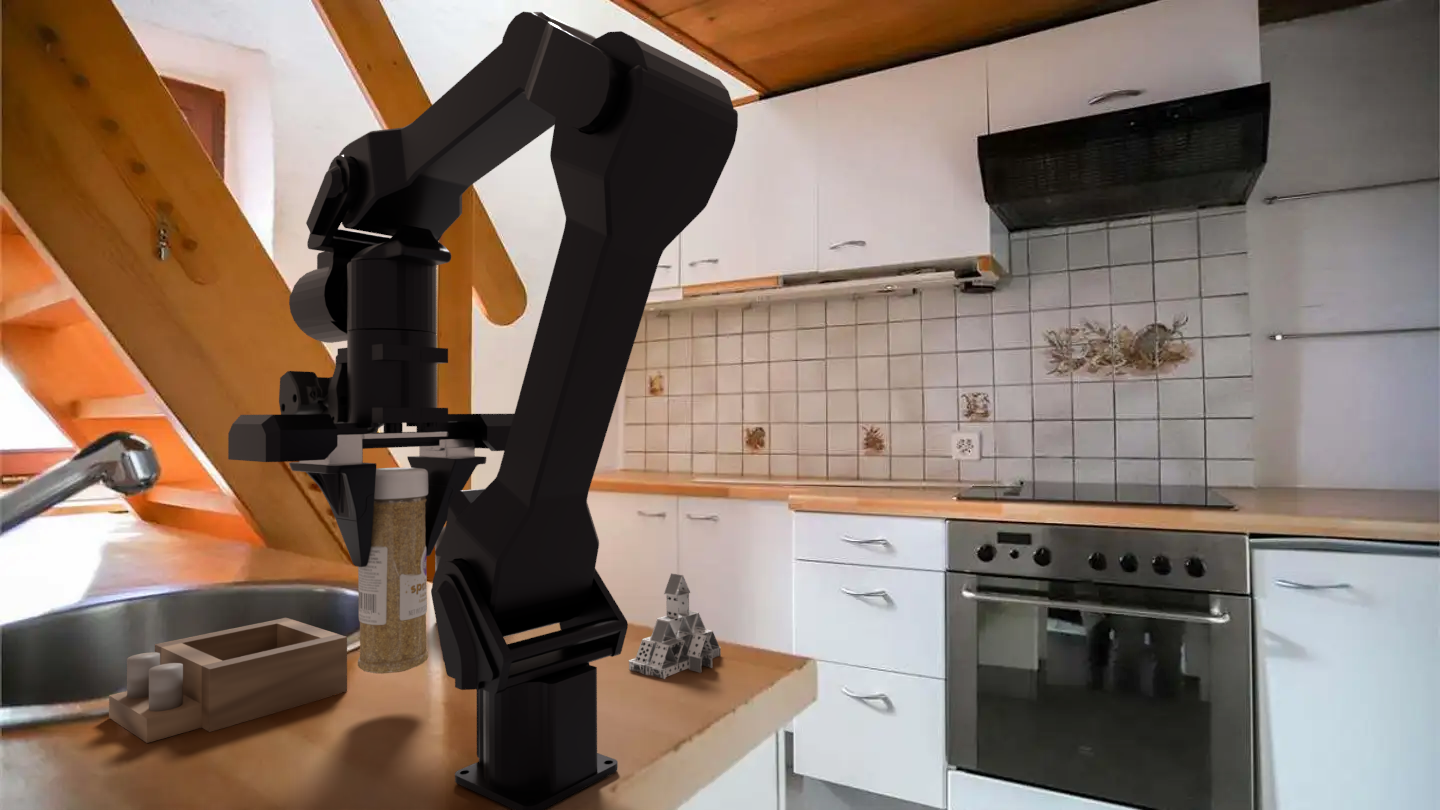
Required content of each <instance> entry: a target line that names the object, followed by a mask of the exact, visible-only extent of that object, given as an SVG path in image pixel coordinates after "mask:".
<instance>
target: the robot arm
mask: <svg viewBox="0 0 1440 810" xmlns="http://www.w3.org/2000/svg"><path fill="white" fill-rule="evenodd" d="M738 118H739V113H738V110H737V109H735V108H734V104H733V102H732V99H731V96H730V91H729V90H728V89H727V88H726V86H725V85H724V84H723V83H722V81H721V80H720V79H719V78H716V77H715V76H712V75H711V74H709V73H707V72H705V71H703V70H701V69H699V68H696V66H693V65H691V64H689V63H687V62H685V61H682V60H680V59H679V58H676V57H674V56H673V55H671V54H668V53H666V52H664V51H663V50H660V49H658V48H656V47H654V46H652V45H650V44H648V43H646V42H644V41H642V40H641V39H638V38H636V37H634V36H632V35H630V34H628V33H626V32H624V31H621V30H620V31H608V32H605V33H604V34H602V35H600V36H599V37H597V38H596V37H595V36H594V35H592V34H590V33H587V32H586V31H583V30H581V29H580V28H577V27H574V26H572V25H571V24H568V23H566V22H564V21H562V20H560V19H558V18H556V17H554V16H551V15H550V14H547V13H546V12H543V11H533V12H530V11H521V12H520V13H518V14H516V15H515V16H514V17H513V18H512V20H511V21H510V23H508V25H507V27H506V29H505V31H504V34H503V37H502V41H501V43H500V44H498V46H496V47H495V48H494V49H493V50H492V51H491V52H490V53H488V54H487V55H486V56H485V57H484V58H483V59H482V60H481V61H480V62H478V63H477V65H475V66H474V67H473V68H472V69H471V70H470V71H468V73H466V74H465V75H464V76H463V77H462V78H461V79H459V80H458V81H457V82H455V84H454V85H453V86H452V87H450V89H448V90H447V91H446V92H445V93H444V94H443V95H442V96H440V97H439V98H438V99H437V100H436V101H435V102H434V103H432V104H431V105H430V106H429V107H428V108H427V109H426V110H425V111H423V112H422V114H420V115H419V116H418V117H417V118H416V119H415V120H414V121H413V122H411V123H409V124H407V125H406V126H403V127H396V128H395V127H394V128H389V129H388V128H387V129H376V130H371V131H369V132H367V133H365V134H363V135H361V136H359V137H357V138H356V139H355V140H353V141H350V142H349V143H348V144H347V145H345V146H344V147H343V148H342V150H341V151H340V152H339V153H338V155H336V156H335V157H334V158H333V159H332V161H331V162H330V164H329V167H328V169H327V171H326V172H325V174H324V177H323V179H322V182H321V184H320V186H319V189H318V192H317V194H316V197H315V200H314V202H313V205H312V207H311V210H310V212H309V215H308V217H307V220H306V222H305V224H306V226H307V228H308V230H309V235H308V238H307V248H308V249H309V250H313V251H320V252H317V253H318V254H317V255H316V264H317V265H316V269H313V270H310V271H308V272H306V273H305V274H303V275H301V277H300V278H299V279H298V280H297V282H295V284H294V285H293V287H292V290H291V293H290V294H289V301H288V303H289V311H290V314H291V317H292V320H293V321H294V323H295V324H296V325H297V327H298V329H299V330H301V331H302V332H303V333H304V334H306V335H307V337H310V338H312V339H313V340H315V341H319V342H322V343H327V344H328V343H329V344H330V343H331V344H333V343H340V342H347V344H346V345H347V346H346V347H342V348H341V347H340V348H337V355H336V356H335V368H334V371H333V374H332V376H330V377H323V376H322V377H320V376H318V375H317V374H316V372H314V371H302V370H301V371H297V370H296V371H295V370H288V371H286V372H285V373H284V374H283V375H282V376H280V377H279V390H278V404H279V405H278V406H279V411H280V414H240V415H239V416H238V417H237V419H235V421H233V422H232V424H231V426H230V428H229V432H228V436H227V440H228V442H227V444H228V445H227V447H228V448H227V450H228V451H227V452H228V453H227V455H228V457H227V460H228V461H229V460H230V461H231V460H232V461H245V462H246V461H247V462H257V463H258V462H259V463H260V462H261V463H284V462H287V463H289V467H290V469H291V471H292V472H302V473H303V472H304V473H306V474H307V475H308V477H310V479H311V480H312V481H313V482H314V483H315V484H316V485H317V486H318V487H319V489H320V491H321V492H322V494H323V496H324V498H325V500H326V501H327V503H328V506H329V507H330V509H331V511H332V513H333V514H332V515H333V516H334V519H335V521H336V524H337V527H338V529H339V531H340V534H341V537H342V539H343V542H344V544H345V547H346V549H347V551H348V554H349V557H350V560H351V562H352V564H353V566H355V567H357V568H358V567H365V566H367V564H368V559H369V554H370V549H371V541H372V525H373V510H374V495H375V481H376V469H377V463H374V462H363V461H364V459H363V458H364V456H363V454H364V451H363V450H365V449H367V450H368V449H391V448H392V449H393V448H415V447H416V448H417V447H419V455H413V456H412V455H411V456H410V455H409V456H407V461H408V463H409V465H410V468H421V469H425V470H427V472H428V495H426V496H425V498H426V502H425V530H426V531H425V545H426V557H430V556H431V555H432V552H433V550H434V551H435V549H434V548H435V544H436V542H437V540H438V538H439V536H440V534H441V532H442V529H443V527H445V526H446V527H445V532H444V535H443V538H442V540H441V543H440V544H439V546H438V547H437V549H436V551H435V552H434V553H435V554H436V556H441V558H440V560H439V564H438V567H437V570H435V572H434V575H433V579H432V583H431V584H432V585H431V590H430V591H431V592H430V594H431V598H432V599H431V601H432V604H433V605H432V606H433V611H434V616H435V621H436V626H437V633H438V637H439V645H440V648H441V649H440V650H441V655H442V661H443V663H444V667H445V673H446V675H447V676H448V677H450V678H452V679H454V688H456V689H459V690H462V691H464V690H465V691H466V690H467V691H470V690H476V756H477V758H478V761H477V762H474V763H473V764H470V765H467V766H465V767H463V768H461V769H458V770H457V771H455V773H454V783H456V784H457V785H460V786H461V787H464V788H466V789H468V790H470V791H473V792H475V793H477V794H479V795H481V796H484V797H486V798H488V799H490V800H492V801H495V802H497V803H499V804H501V805H503V806H505V807H508V808H510V809H512V810H545V809H547V808H549V807H550V806H552V805H554V804H556V803H559V802H560V801H562V800H565V799H566V798H567V797H570V796H572V795H574V794H575V793H577V792H580V791H581V790H584V789H585V788H587V787H589V786H591V785H593V784H595V783H597V782H599V781H601V780H602V779H604V778H606V777H608V776H610V775H612V774H614V773H616V772H617V771H618V767H619V764H618V760H617V759H615V758H612V757H610V756H608V755H605V754H601V753H599V752H598V681H597V680H598V675H597V674H598V670H597V669H598V668H597V666H596V665H595V666H594V665H591V664H590V663H592V662H596V661H598V660H602V659H604V658H608V657H611V658H612V657H617V656H619V655H621V654H622V651H623V647H624V643H625V639H626V635H627V632H628V627H629V625H628V620H627V618H626V617H625V615H624V614H623V612H622V611H621V609H620V607H619V605H618V604H617V602H616V600H615V598H614V597H613V596H612V593H611V592H610V590H609V589H608V586H606V583H605V582H604V580H603V579H602V577H601V576H600V574H599V572H598V570H597V569H596V566H597V565H596V564H597V559H598V552H599V548H600V539H599V536H598V533H597V529H596V526H595V523H594V520H593V518H592V514H591V511H590V507H589V504H588V496H589V492H590V491H589V490H590V488H591V484H592V482H593V478H594V476H595V472H596V469H597V468H596V467H597V465H598V461H599V458H600V455H601V451H602V449H603V445H604V442H605V439H606V436H607V433H608V432H607V431H608V428H609V426H610V423H611V420H612V416H613V414H614V413H613V412H614V409H615V406H616V403H617V400H618V397H619V393H620V390H621V387H622V384H623V380H624V376H625V373H626V371H627V368H628V367H627V366H628V364H629V361H630V357H631V353H632V351H633V347H634V344H635V341H636V337H637V334H638V330H639V328H640V324H641V321H642V318H643V316H644V315H643V314H644V311H645V309H646V305H647V301H648V298H649V294H650V291H651V289H652V285H653V282H654V278H655V275H656V273H657V270H658V269H657V268H658V265H659V263H660V260H661V258H662V255H663V253H664V251H665V250H666V248H667V247H668V246H669V245H670V244H671V243H672V242H673V241H674V240H675V239H676V238H677V237H678V236H679V235H680V234H681V233H682V232H684V230H685V229H686V228H687V227H688V226H689V225H690V224H691V223H692V222H693V221H694V220H695V219H696V218H697V217H698V216H699V215H700V214H701V213H702V212H703V211H704V209H706V207H707V205H708V204H709V201H710V199H711V197H712V195H713V193H714V191H715V188H716V187H717V184H718V182H719V180H720V178H721V175H722V173H723V171H724V169H725V167H726V165H727V162H728V160H729V158H730V156H731V153H732V150H733V149H734V146H735V142H736V138H737V132H738V127H739V122H738V121H739V119H738ZM551 128H553V133H552V140H551V146H550V152H549V155H550V162H551V167H552V169H553V174H554V177H555V181H556V184H557V189H558V193H559V197H560V200H561V204H562V207H563V211H564V215H565V223H564V228H563V232H562V237H561V240H560V244H559V247H558V252H557V255H556V259H555V262H554V266H553V270H552V274H551V277H550V281H549V285H548V288H547V292H546V296H545V300H544V304H543V307H542V310H541V314H540V317H539V318H540V319H539V320H538V325H537V328H536V332H535V336H534V340H533V343H532V347H531V351H530V354H529V358H528V361H527V366H526V369H525V374H524V376H523V381H522V384H521V389H520V393H519V396H518V398H517V403H516V407H515V409H514V413H449V408H448V407H438V365H439V364H449V348H447V347H446V348H445V347H438V296H437V295H438V289H437V288H438V282H437V281H438V274H437V272H438V269H437V267H438V266H440V265H443V264H448V263H450V262H451V260H452V253H451V251H449V249H447V247H446V246H445V245H443V244H442V243H441V242H440V240H441V237H442V236H443V235H444V233H445V232H446V231H447V230H448V229H449V228H450V227H451V226H452V225H453V224H454V223H455V222H456V221H457V220H458V219H459V217H460V216H461V215H462V214H463V194H464V193H465V192H466V191H467V190H468V188H469V187H471V186H472V185H474V184H475V183H476V182H478V181H479V180H480V179H482V178H483V177H485V176H486V175H487V174H488V173H490V172H491V171H493V170H494V169H495V168H497V167H498V166H500V165H501V164H503V163H504V162H506V160H508V159H509V158H511V157H512V156H514V155H515V154H517V153H518V152H519V151H521V150H522V149H523V148H525V147H526V146H528V145H529V144H530V143H532V142H533V141H534V140H537V138H538V137H540V136H541V135H543V134H544V133H546V132H547V131H548V130H550V129H551ZM341 225H342V226H343V227H344V229H341V228H340V226H341ZM347 229H349V230H347ZM352 230H355V231H352ZM359 231H360V232H359ZM364 232H366V233H364ZM370 233H371V234H370ZM372 233H373V234H372ZM377 234H378V235H377ZM382 235H383V236H382ZM389 236H390V237H389ZM308 249H307V250H308ZM403 424H406V427H416V431H403ZM381 427H383V432H380V431H379V429H380V428H381ZM475 449H488V450H490V451H491V452H503V455H502V458H501V462H500V466H499V470H498V472H497V475H496V476H495V478H494V479H493V480H492V481H491V482H490V483H489V484H488V485H487V486H486V487H485V488H475V489H464V488H465V486H466V485H467V483H468V481H469V480H470V479H471V476H472V475H473V473H474V471H475V470H476V468H477V467H478V466H479V465H486V463H487V456H477V455H476V453H475V451H476V450H475ZM463 489H464V490H463ZM556 624H559V628H560V630H556V631H553V632H552V631H551V632H548V633H545V634H540V635H536V636H533V637H528V638H525V639H522V640H518V641H514V642H511V643H507V642H506V640H505V637H510V636H513V635H518V634H522V633H526V632H530V631H533V630H538V629H540V628H545V627H549V626H552V625H556Z"/></svg>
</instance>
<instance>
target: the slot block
mask: <svg viewBox="0 0 1440 810" xmlns="http://www.w3.org/2000/svg"><path fill="white" fill-rule="evenodd" d="M346 691H347V692H348V636H345V635H342V634H339V633H336V632H333V631H330V630H326V629H323V628H320V627H317V626H314V625H310V624H308V623H305V622H301V621H298V620H295V619H292V618H288V617H282V618H278V619H273V620H269V621H264V622H258V623H253V624H249V625H248V624H247V625H243V626H239V627H235V628H234V627H233V628H229V629H223V630H218V631H214V632H209V633H204V634H199V635H194V636H190V637H184V638H180V639H174V640H169V641H165V642H158V643H156V644H154V651H153V652H144V653H138V654H133V655H131V656H129V657H127V658H126V691H121V692H118V693H113V694H109V696H108V719H110V720H111V721H114V722H115V723H116V724H117V725H119V726H121V728H124V729H126V730H127V731H128V732H129V733H131V734H132V735H134V736H136V737H137V738H138V739H140V740H141V741H143V742H144V743H146V744H148V743H152V742H156V741H159V740H163V739H166V738H170V737H174V736H177V735H179V734H180V735H181V734H183V733H188V732H190V731H195V730H198V729H204V731H207V732H208V733H211V732H214V731H215V732H216V731H218V730H221V729H225V728H228V727H231V726H235V725H238V724H242V723H245V722H248V721H251V720H255V719H258V718H262V717H266V716H269V715H272V714H277V713H280V712H283V711H286V710H290V709H294V708H298V707H299V706H300V707H301V706H303V705H306V704H310V703H313V702H316V701H319V700H322V699H326V698H330V697H333V696H332V695H334V696H336V695H335V694H337V695H340V694H343V693H342V692H344V693H346ZM339 693H340V694H339Z"/></svg>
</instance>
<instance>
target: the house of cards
mask: <svg viewBox="0 0 1440 810" xmlns="http://www.w3.org/2000/svg"><path fill="white" fill-rule="evenodd" d="M691 593H692V592H691V590H690V588H689V586H688V583H687V581H686V579H685V576H684V575H683V574H678V573H677V574H676V573H670V576H669V579H668V581H667V584H666V587H665V590H664V592H663V595H665V597H666V609H665V610H666V613H665V614H666V615H664V616H661V617H657V618H656V621H655V623H654V624H655V625H654V627H653V630H652V634H650V635H651V636H648V637H645V638H642V639H641V642H640V645H639V647H638V650H637V652H636V656H635V658H632V659H629V660H627V661H628V670H629V671H632V672H635V673H640V674H642V675H645V676H652V677H656V678H659V679H663V680H666V678H667V677H669V676H672V675H675V674H677V673H680V672H682V671H685V670H687V669H688V670H689V671H693V672H697V673H699V674H702V666H703V667H706V668H710V669H713V660H714V658H715V659H716V658H717V657H721V654H722V653H721V649H722V648H721V646H720V644H719V643H718V640H717V638H716V635H715V633H714V631H713V630H710V629H706V626H705V625H704V621H703V619H702V617H701V615H700V611H694V610H690V594H691Z"/></svg>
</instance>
